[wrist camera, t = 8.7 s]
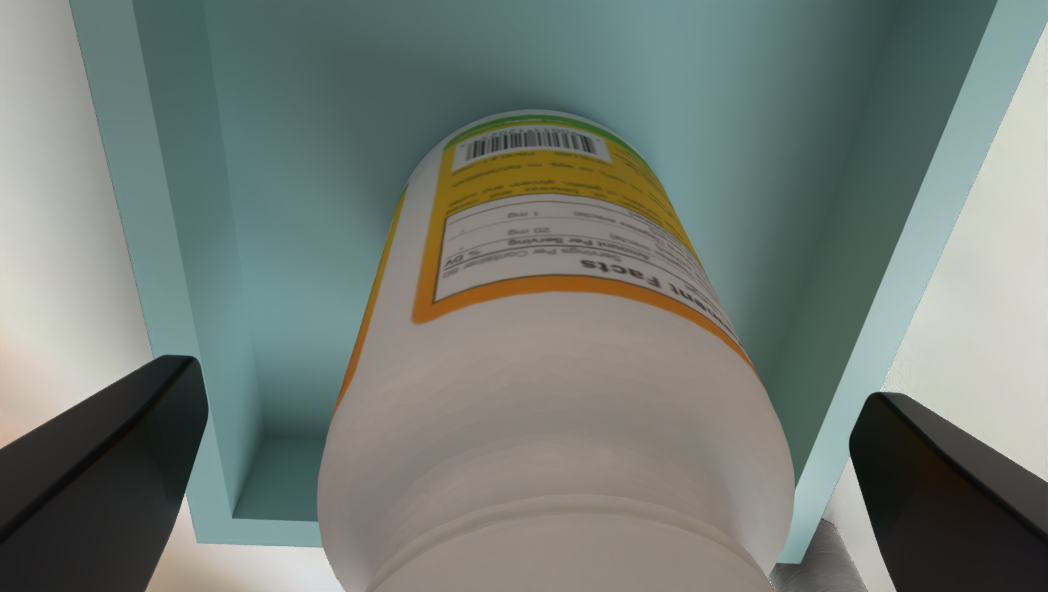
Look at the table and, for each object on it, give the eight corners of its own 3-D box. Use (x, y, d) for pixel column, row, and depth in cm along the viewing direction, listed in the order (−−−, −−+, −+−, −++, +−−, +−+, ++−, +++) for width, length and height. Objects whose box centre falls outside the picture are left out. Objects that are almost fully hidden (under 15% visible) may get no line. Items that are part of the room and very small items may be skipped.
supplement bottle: (527, 389, 16) (553, 968, 8) (336, 235, 14) (82, 812, 5) (724, 240, 14) (1046, 793, 6) (540, 35, 12) (627, 447, 4)
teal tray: (970, -118, 11) (1106, -112, 9) (758, 464, 18) (800, 563, 16) (133, -207, 10) (15, -227, 8) (242, 441, 17) (197, 542, 15)
